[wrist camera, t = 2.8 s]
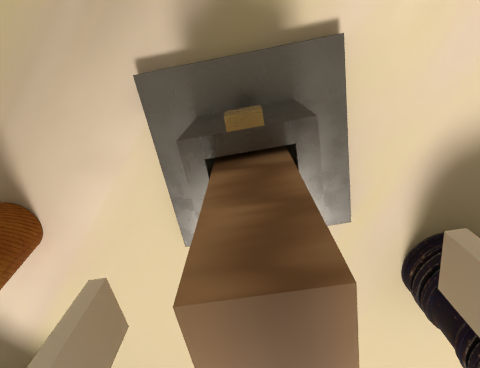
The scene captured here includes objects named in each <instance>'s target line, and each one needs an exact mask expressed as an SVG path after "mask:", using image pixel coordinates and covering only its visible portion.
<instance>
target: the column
mask: <svg viewBox="0 0 480 368" xmlns="http://www.w3.org/2000/svg"><path fill="white" fill-rule="evenodd" d="M173 309H174V312H175V315H176V317H177V320H178V323H179V326H180V328H181V331H182V334H183V337H184V340H185V342H186V345H187V348H188V351H189V353H190V356H191V359H192V362H193V364H194V367H195V368H359V348H358V318H357V289H356V281H355V279H354V277H353V275H352V274H351V272H350V270H349V268H348V266H347V264H346V262H345V260H344V258H343V256H342V254H341V252H340V250H339V248H338V246H337V244H336V242H335V241H334V239H333V237H332V235H331V233H330V231H329V229H328V227H327V225H326V223H325V221H324V219H323V217H322V215H321V213H320V211H319V209H318V208H317V206H316V204H315V202H314V200H313V198H312V196H311V194H310V192H309V190H308V188H307V186H306V184H305V182H304V180H303V178H302V177H301V175H300V173H299V171H298V169H297V167H296V165H295V163H294V161H293V159H292V157H291V155H290V153H289V151H288V149H287V147H286V145H284V146H278V147H272V148H267V149H261V150H255V151H249V152H244V153H238V154H232V155H226V156H221V157H216V158H215V162H214V165H213V169H212V172H211V176H210V179H209V183H208V186H207V190H206V193H205V197H204V200H203V204H202V207H201V211H200V214H199V218H198V221H197V225H196V228H195V232H194V235H193V239H192V242H191V246H190V249H189V253H188V256H187V260H186V263H185V267H184V270H183V274H182V277H181V281H180V284H179V288H178V291H177V295H176V298H175V302H174V305H173Z"/></svg>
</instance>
